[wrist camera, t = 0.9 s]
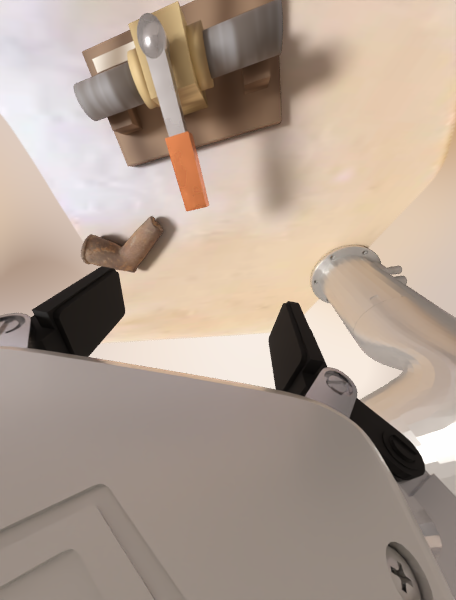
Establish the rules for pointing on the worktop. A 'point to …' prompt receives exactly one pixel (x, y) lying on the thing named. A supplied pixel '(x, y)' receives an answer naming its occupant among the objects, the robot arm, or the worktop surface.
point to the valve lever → (172, 112)
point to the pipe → (122, 248)
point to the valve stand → (190, 76)
